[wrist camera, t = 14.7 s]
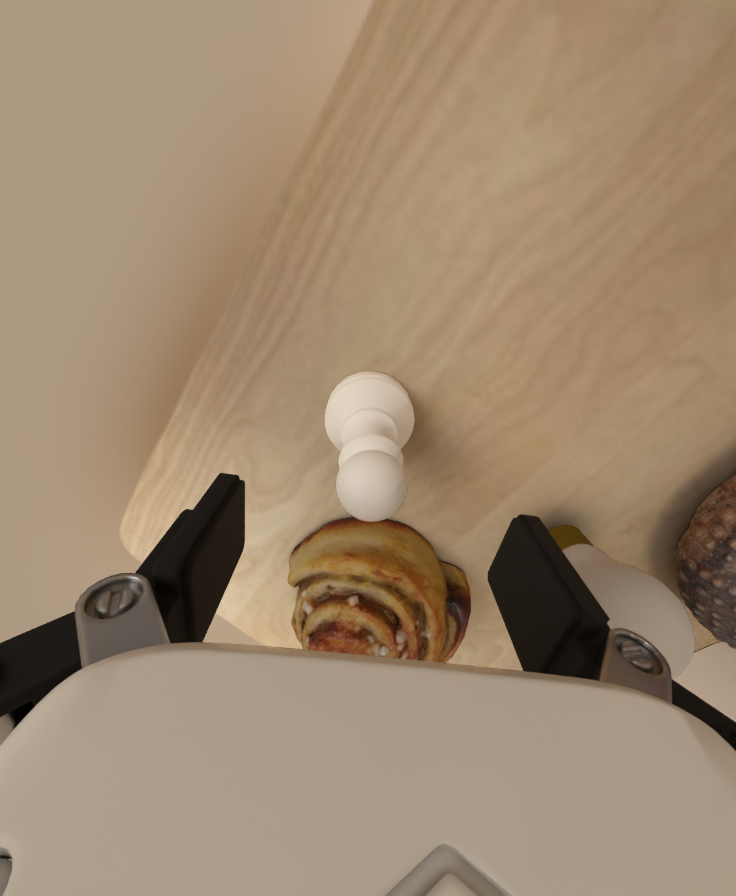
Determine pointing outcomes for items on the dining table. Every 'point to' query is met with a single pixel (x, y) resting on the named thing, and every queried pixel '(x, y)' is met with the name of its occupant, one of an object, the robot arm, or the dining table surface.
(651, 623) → the light bulb
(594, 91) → the dining table surface
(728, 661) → the white stepped cylinder
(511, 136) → the dining table surface
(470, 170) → the dining table surface
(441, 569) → the pastry
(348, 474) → the chess pawn
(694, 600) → the sea urchin shell
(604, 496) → the dining table surface
